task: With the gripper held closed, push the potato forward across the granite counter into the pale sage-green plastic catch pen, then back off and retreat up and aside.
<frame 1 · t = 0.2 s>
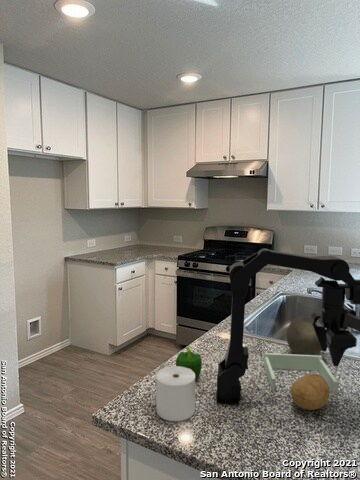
hand: (329, 358, 94), 14 cm above the worktop, fingers open, 9 cm apart
bell pepper: (188, 379, 111), on the worktop
toilet tissue: (173, 409, 94), on the worktop
catch pen: (297, 379, 110), on the worktop
cantaloupe: (305, 357, 128), on the worktop
potato: (309, 405, 97), on the worktop
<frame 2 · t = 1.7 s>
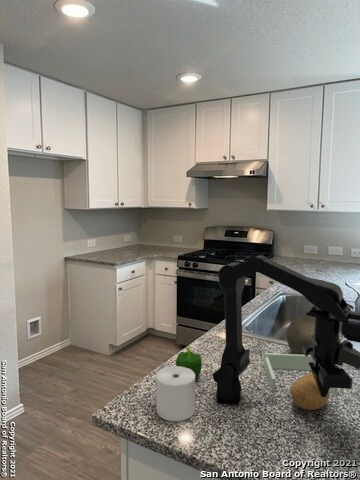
hand: (323, 396, 85), 9 cm above the worktop, fingers closed
nothing on the worktop moved.
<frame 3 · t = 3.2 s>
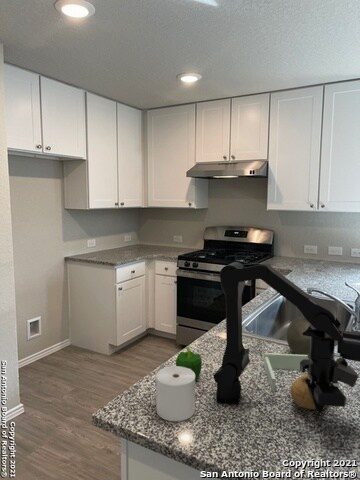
hand: (319, 412, 88), 3 cm above the worktop, fingers closed
potato: (309, 404, 97), on the worktop, touching gripper
everything else where it was.
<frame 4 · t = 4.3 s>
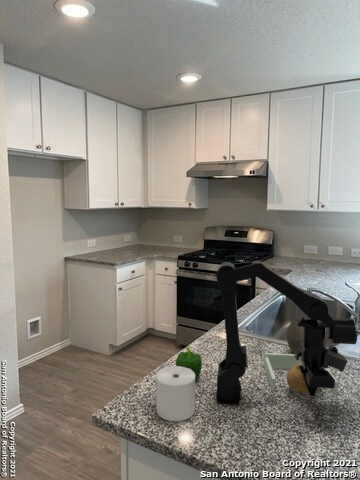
hand: (311, 395, 95), 3 cm above the worktop, fingers closed
potato: (304, 390, 104), on the worktop, touching gripper
everything else where it was.
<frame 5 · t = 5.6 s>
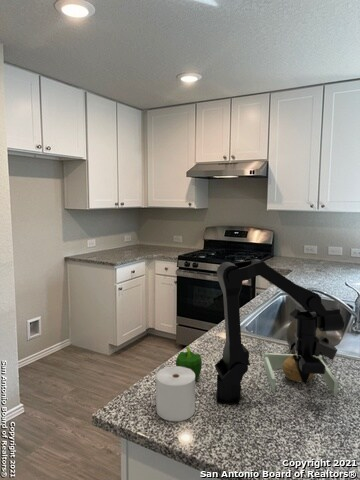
hand: (304, 382, 102), 3 cm above the worktop, fingers closed
potato: (300, 379, 111), on the worktop, touching catch pen, gripper
everything else where it was.
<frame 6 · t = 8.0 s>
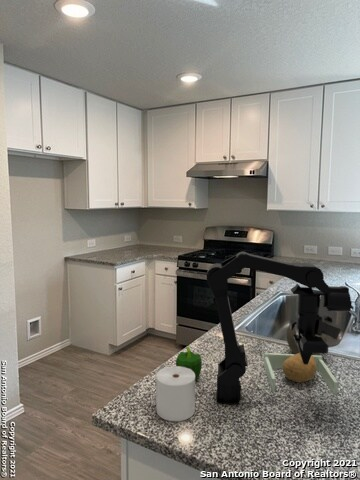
hand: (305, 363, 96), 12 cm above the worktop, fingers closed
potato: (299, 379, 111), on the worktop
everything else where it was.
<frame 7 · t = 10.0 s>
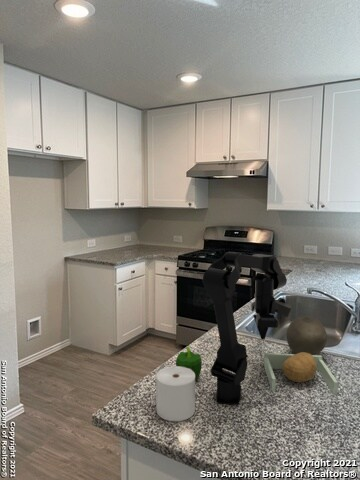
hand: (262, 338, 113), 12 cm above the worktop, fingers closed
nothing on the worktop moved.
at the end: potato inside the target area on the catch pen (1.1 cm from its centre), point 0.0 cm above the catch pen's base; potato moved 14.7 cm from its start; the gripper is holding nothing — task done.
